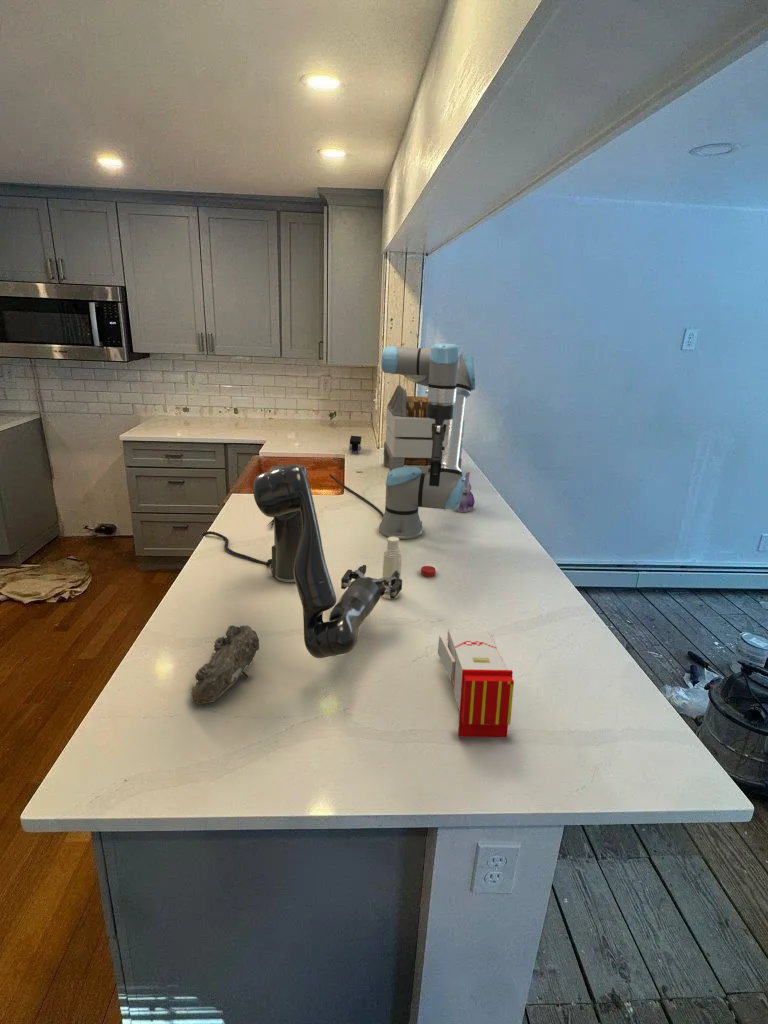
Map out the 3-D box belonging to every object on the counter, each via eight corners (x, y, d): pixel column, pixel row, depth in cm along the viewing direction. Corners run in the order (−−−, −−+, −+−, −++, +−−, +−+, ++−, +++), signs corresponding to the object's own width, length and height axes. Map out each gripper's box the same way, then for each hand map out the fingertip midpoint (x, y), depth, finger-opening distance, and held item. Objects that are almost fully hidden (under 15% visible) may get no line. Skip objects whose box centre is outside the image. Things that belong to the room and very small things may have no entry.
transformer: (382, 463, 289) (386, 382, 275) (445, 464, 293) (451, 384, 279) (390, 482, 257) (394, 392, 243) (460, 483, 261) (468, 394, 247)
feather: (287, 506, 225) (290, 502, 224) (270, 530, 198) (272, 526, 198) (283, 504, 225) (286, 500, 224) (265, 527, 198) (268, 523, 197)
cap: (433, 571, 173) (434, 565, 172) (436, 577, 169) (436, 572, 168) (419, 571, 172) (420, 565, 172) (421, 577, 168) (422, 571, 168)
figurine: (461, 514, 221) (464, 477, 216) (446, 506, 230) (449, 470, 225) (480, 511, 226) (484, 475, 221) (466, 503, 234) (469, 468, 229)
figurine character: (361, 457, 304) (361, 447, 317) (361, 444, 301) (362, 434, 314) (348, 456, 304) (349, 447, 317) (348, 443, 300) (349, 434, 314)
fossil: (211, 627, 129) (258, 597, 124) (240, 656, 132) (287, 627, 127) (170, 698, 110) (224, 665, 105) (204, 729, 113) (259, 699, 108)
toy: (488, 613, 130) (523, 677, 101) (484, 667, 133) (517, 744, 104) (435, 612, 130) (455, 676, 101) (432, 666, 133) (451, 743, 103)
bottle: (402, 595, 157) (406, 539, 152) (390, 600, 154) (393, 543, 148) (390, 589, 160) (393, 533, 155) (377, 594, 157) (380, 538, 152)
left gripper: (389, 592, 127) (408, 562, 141) (330, 580, 130) (354, 553, 145) (387, 621, 129) (406, 589, 144) (329, 609, 133) (354, 579, 148)
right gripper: (429, 396, 165) (424, 466, 172) (424, 410, 142) (418, 490, 149) (455, 397, 164) (449, 468, 172) (454, 411, 141) (447, 493, 148)
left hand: (380, 571), depth 144 cm, fingers open, 8 cm apart
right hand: (435, 478), depth 160 cm, fingers open, 13 cm apart
